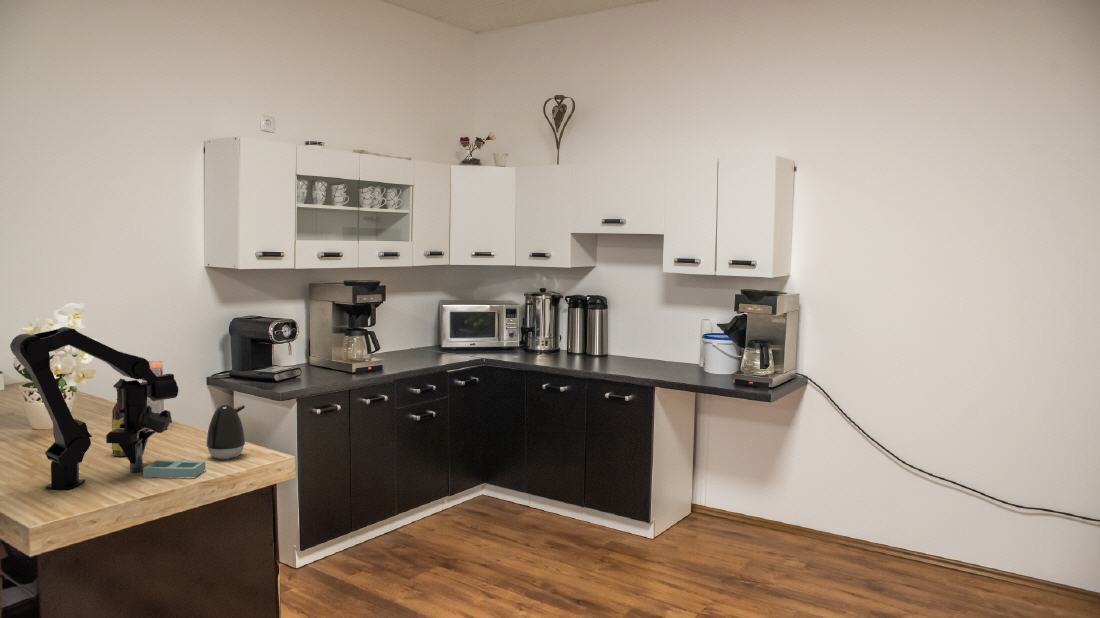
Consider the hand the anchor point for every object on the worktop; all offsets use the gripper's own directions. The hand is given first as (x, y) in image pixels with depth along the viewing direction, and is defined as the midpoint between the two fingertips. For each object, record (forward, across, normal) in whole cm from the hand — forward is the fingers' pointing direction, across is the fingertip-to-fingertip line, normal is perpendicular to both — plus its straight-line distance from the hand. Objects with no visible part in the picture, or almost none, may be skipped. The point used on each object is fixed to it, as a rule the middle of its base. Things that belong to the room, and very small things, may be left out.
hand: (136, 461), depth 209 cm
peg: (+2, 0, 0) cm, 2 cm away
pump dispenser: (+3, +15, -18) cm, 24 cm away
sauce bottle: (+3, +16, +11) cm, 20 cm away
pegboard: (+2, -2, -11) cm, 11 cm away
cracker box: (+3, +48, +18) cm, 51 cm away
